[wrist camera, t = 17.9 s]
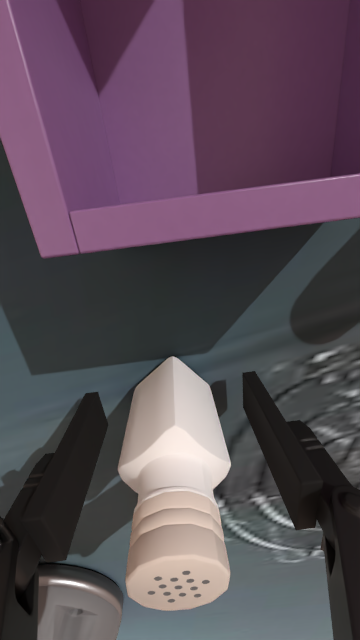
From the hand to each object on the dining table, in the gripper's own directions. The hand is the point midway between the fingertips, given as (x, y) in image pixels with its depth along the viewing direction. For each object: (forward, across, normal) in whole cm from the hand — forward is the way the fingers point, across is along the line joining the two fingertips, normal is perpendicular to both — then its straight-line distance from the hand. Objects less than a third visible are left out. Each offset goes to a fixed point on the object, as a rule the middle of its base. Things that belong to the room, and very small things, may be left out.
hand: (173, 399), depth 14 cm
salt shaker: (+2, 0, 0) cm, 2 cm away
